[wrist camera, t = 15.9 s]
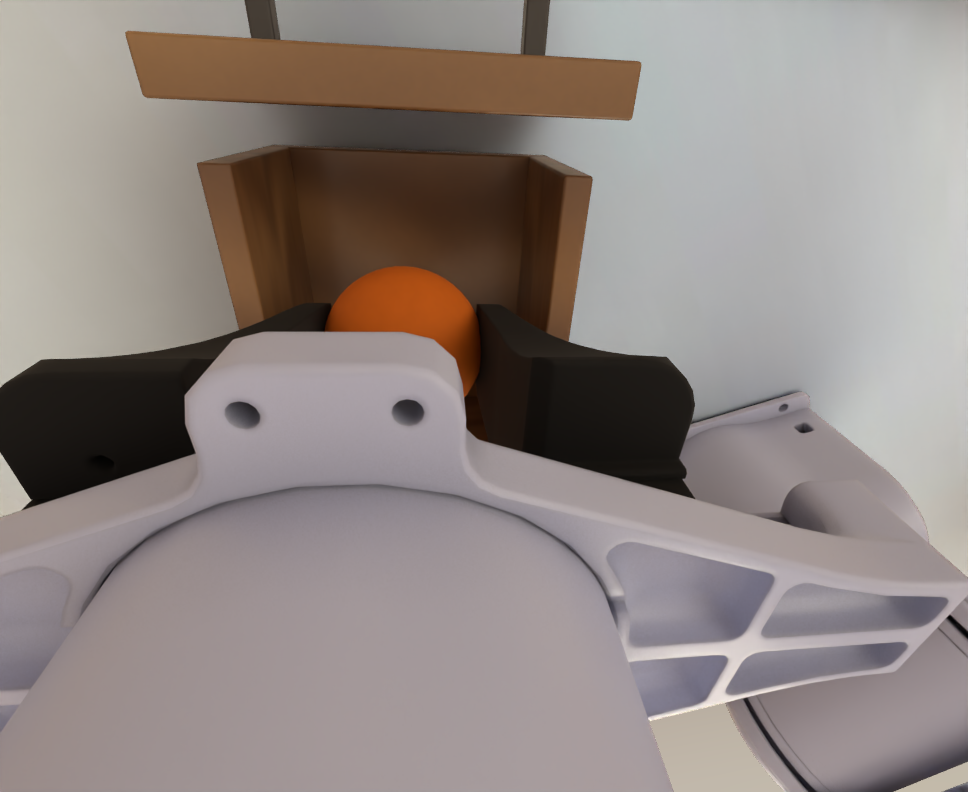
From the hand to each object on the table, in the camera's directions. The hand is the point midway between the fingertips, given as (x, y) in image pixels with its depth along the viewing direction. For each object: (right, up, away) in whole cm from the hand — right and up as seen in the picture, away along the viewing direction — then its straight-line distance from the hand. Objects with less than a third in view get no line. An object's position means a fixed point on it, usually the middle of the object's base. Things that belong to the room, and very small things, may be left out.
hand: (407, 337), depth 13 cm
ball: (0, 0, -1) cm, 1 cm away
